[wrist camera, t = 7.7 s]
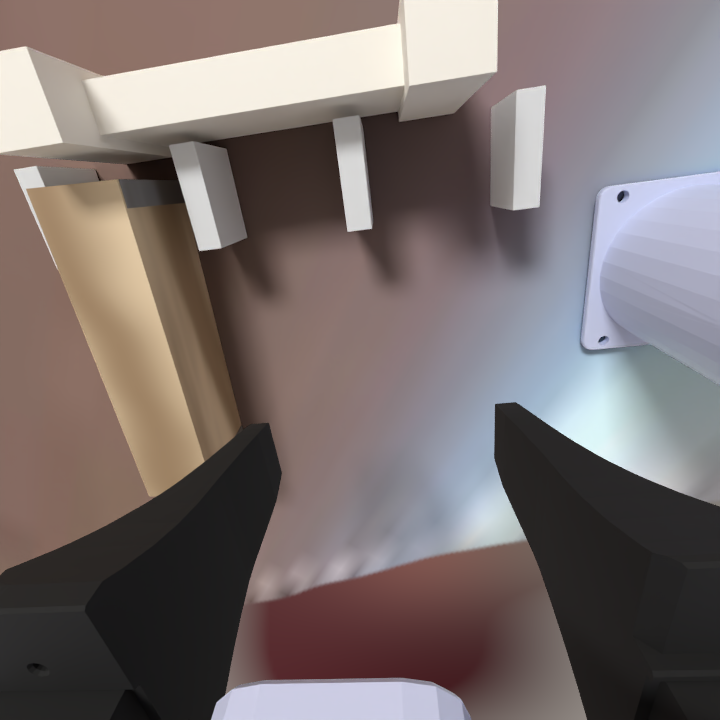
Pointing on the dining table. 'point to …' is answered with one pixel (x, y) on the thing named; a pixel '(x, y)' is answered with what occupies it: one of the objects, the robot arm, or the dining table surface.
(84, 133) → the white comb rack
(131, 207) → the rail
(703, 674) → the robot arm
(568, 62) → the dining table surface
